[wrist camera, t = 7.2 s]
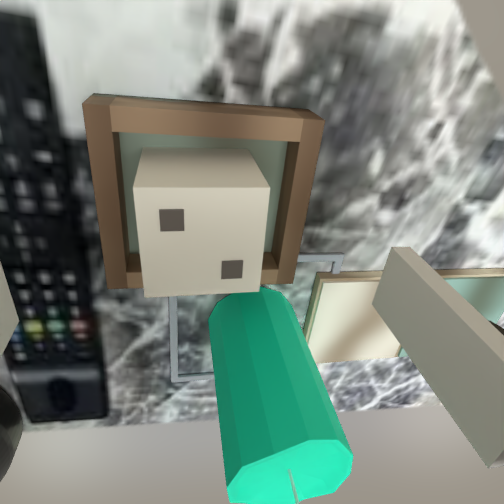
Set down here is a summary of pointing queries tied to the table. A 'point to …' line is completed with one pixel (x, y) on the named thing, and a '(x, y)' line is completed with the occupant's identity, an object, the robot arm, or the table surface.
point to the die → (200, 220)
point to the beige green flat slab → (369, 321)
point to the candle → (272, 404)
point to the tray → (199, 136)
